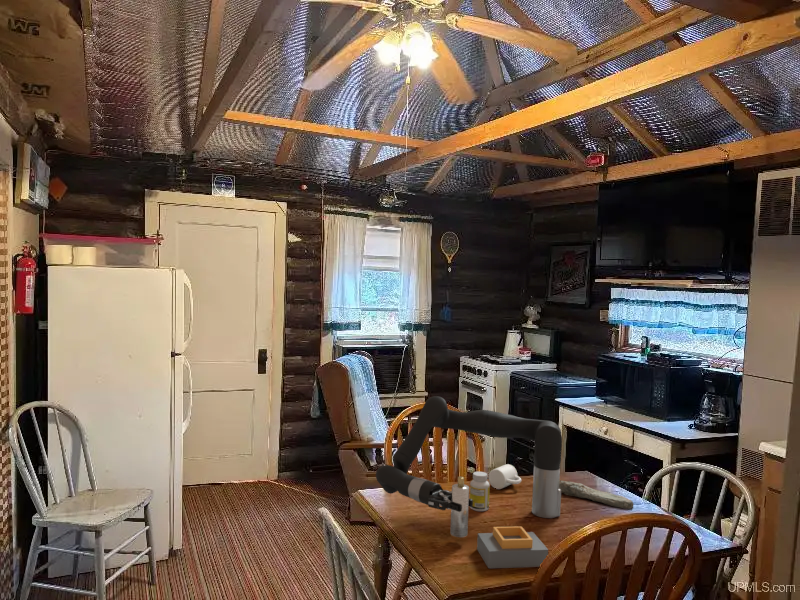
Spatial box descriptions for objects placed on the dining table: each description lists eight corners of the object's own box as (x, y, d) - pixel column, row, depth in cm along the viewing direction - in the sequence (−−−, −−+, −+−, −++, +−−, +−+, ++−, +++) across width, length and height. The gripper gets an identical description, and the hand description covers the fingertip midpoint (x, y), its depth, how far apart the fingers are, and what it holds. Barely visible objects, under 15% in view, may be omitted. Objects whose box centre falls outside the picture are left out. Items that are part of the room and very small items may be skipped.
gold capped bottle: (464, 529, 185) (467, 474, 184) (469, 537, 179) (471, 480, 179) (448, 530, 184) (450, 474, 183) (452, 537, 178) (454, 480, 178)
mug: (487, 486, 234) (488, 467, 234) (500, 480, 242) (501, 462, 241) (513, 494, 226) (514, 474, 226) (526, 488, 234) (526, 469, 233)
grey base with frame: (530, 545, 182) (531, 522, 181) (547, 566, 168) (548, 541, 168) (475, 546, 179) (476, 523, 179) (488, 568, 166) (489, 542, 165)
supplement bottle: (479, 503, 215) (481, 469, 215) (492, 509, 210) (494, 475, 209) (465, 506, 211) (466, 472, 211) (478, 513, 206) (479, 478, 205)
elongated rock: (628, 516, 213) (635, 509, 221) (630, 502, 213) (637, 496, 221) (539, 488, 233) (548, 483, 241) (541, 475, 233) (550, 471, 241)
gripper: (411, 485, 185) (453, 500, 174) (438, 475, 196) (480, 488, 185) (410, 508, 185) (452, 524, 174) (437, 497, 196) (479, 511, 185)
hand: (466, 505), depth 179 cm, fingers closed on gold capped bottle, 5 cm apart
